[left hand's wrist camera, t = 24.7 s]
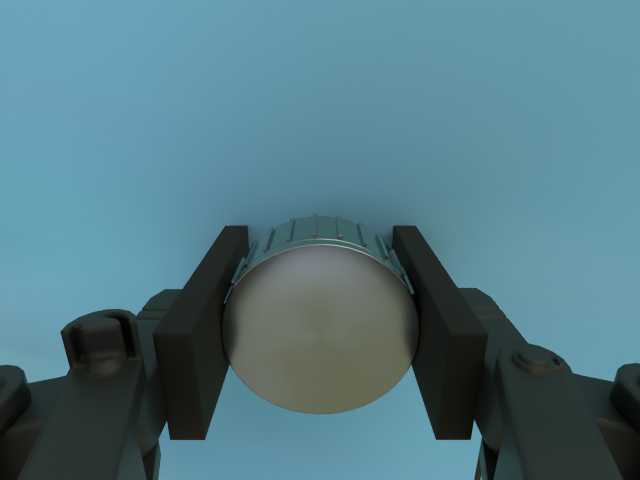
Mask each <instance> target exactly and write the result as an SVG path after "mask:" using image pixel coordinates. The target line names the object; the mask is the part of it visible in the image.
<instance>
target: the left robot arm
mask: <svg viewBox="0 0 640 480" xmlns="http://www.w3.org/2000/svg"><path fill="white" fill-rule="evenodd" d="M392 249H394V251H395V253H396V255H397V257H398V259H399V262H400V264H401V266H402V267H403V268H404V270H405V272H406V275H407V277H408V279H409V281H410V283H411V286H412V288H413V290H414V292H415V295H416V296H414V297H413V298H414V301H415V303H416V306H417V310H418V314H419V321H420V338H419V343H418V348H417V351H416V354H415V357H414V360H413V361H412V363H411V365H412V368H413V371H414V374H415V377H416V380H417V383H418V386H419V389H420V392H421V395H422V398H423V401H424V404H425V407H426V411H427V414H428V417H429V420H430V423H431V426H432V429H433V432H434V435H435V438H436V440H471V434H472V428H473V422H474V420H475V422H476V424H477V426H478V428H479V431H480V433H481V435H482V440H481V446H480V451H479V457H478V462H477V467H476V473H475V480H480V479H481V474H482V480H640V364H638V363H633V364H625V365H623V366H622V367H620V368H619V369H618V370H617V373H616V377H615V380H614V382H611V381H606V380H601V379H596V378H591V377H586V376H581V375H577V374H574V373H572V371H571V369H570V367H569V366H568V364H567V363H566V362H565V361H564V359H562V358H561V357H560V356H558V355H557V354H555V353H554V352H552V351H550V350H547V349H545V348H543V347H541V346H537V345H533V344H528V343H527V341H526V340H525V339H524V338H523V337H522V335H521V334H520V333H519V332H518V330H517V329H516V328H515V327H514V325H513V324H512V323H511V322H510V320H509V319H508V318H506V315H505V314H504V313H503V312H502V310H501V309H499V307H498V305H497V304H496V303H495V302H494V300H493V299H492V298H491V297H490V296H488V295H487V294H485V293H483V292H482V291H480V290H479V289H477V288H457V286H456V285H455V283H454V282H453V280H452V279H451V278H450V276H449V275H448V273H447V272H446V270H445V269H444V267H443V266H442V264H441V263H440V261H439V260H438V258H437V257H436V255H435V254H434V252H433V251H432V249H431V248H430V247H429V245H428V244H427V242H426V241H425V239H424V238H423V236H422V235H421V233H420V232H419V230H418V229H417V227H416V226H394V227H393V242H392ZM248 253H249V243H248V228H247V226H225V227H224V229H223V230H222V232H221V233H220V235H219V236H218V238H217V239H216V241H215V242H214V244H213V245H212V247H211V248H210V249H209V251H208V252H207V254H206V255H205V257H204V258H203V260H202V261H201V263H200V264H199V266H198V267H197V269H196V270H195V272H194V273H193V275H192V276H191V277H190V279H189V280H188V282H187V283H186V285H185V286H184V288H183V289H165V290H163V291H162V292H160V293H158V294H157V295H155V296H153V297H152V298H150V300H149V301H148V302H147V303H146V305H145V306H144V307H143V308H142V311H140V312H139V313H138V315H137V316H135V315H134V314H133V313H131V312H130V311H126V310H121V309H107V310H102V311H97V312H92V313H90V314H87V315H84V316H81V317H79V318H77V319H75V320H74V321H72V322H70V323H69V324H67V325H66V326H65V327H64V329H63V330H62V331H61V335H62V339H63V343H64V347H65V351H66V354H67V358H68V362H69V366H70V369H69V371H68V373H67V375H66V376H63V377H58V378H53V379H48V380H43V381H38V382H33V383H27V379H26V376H25V373H24V371H23V370H22V369H21V368H19V367H18V366H11V365H1V366H0V480H158V475H159V467H160V458H161V452H160V446H159V440H158V439H159V437H160V435H161V432H162V430H163V428H164V426H165V424H166V421H167V423H168V429H169V435H170V440H205V438H206V435H207V431H208V428H209V425H210V422H211V419H212V416H213V413H214V410H215V407H216V404H217V401H218V398H219V395H220V392H221V389H222V386H223V383H224V380H225V377H226V374H227V370H228V367H229V364H230V363H229V361H228V359H227V357H226V354H225V351H224V347H223V344H222V337H221V320H222V313H223V309H224V306H223V303H224V300H225V298H226V296H227V294H228V291H229V289H230V287H231V285H230V283H231V281H232V279H233V277H234V274H235V272H236V270H237V268H238V266H239V264H240V262H241V259H242V258H243V257H244V258H246V256H247V255H248Z"/></svg>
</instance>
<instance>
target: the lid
mask: <svg viewBox="0 0 640 480" xmlns="http://www.w3.org/2000/svg"><path fill="white" fill-rule="evenodd" d="M230 285H231V287H230V289H229V291H228V294H227V296H226V298H225V300H224V303H223V306H224V309H223V313H222V320H221V337H222V344H223V347H224V351H225V354H226V357H227V359H228V361H229V363H230V365H231V367H232V368H233V370H234V371H235V373H236V374H237V376H238V377H239V378H240V379H241V380H242V382H243V383H244V384H245V385H246V386H247V387H249V388H250V389H251V390H252V391H253V392H254V393H256V394H257V395H259V396H260V397H262V398H263V399H265V400H267V401H269V402H271V403H272V404H275V405H277V406H280V407H282V408H285V409H289V410H292V411H296V412H302V413H308V414H333V413H340V412H345V411H349V410H353V409H356V408H359V407H362V406H365V405H367V404H369V403H371V402H373V401H375V400H377V399H378V398H380V397H381V396H383V395H384V394H386V393H387V392H388V391H389V390H391V389H392V388H393V387H394V386H395V385H396V384H397V383H398V382H399V381H400V380H401V379H402V377H403V376H404V375H405V373H406V372H407V370H408V369H409V367H410V365H411V363H412V361H413V360H414V357H415V354H416V351H417V348H418V343H419V338H420V321H419V314H418V310H417V306H416V303H415V301H414V298H413V297H414V296H416V295H415V292H414V290H413V288H412V286H411V283H410V281H409V279H408V277H407V275H406V272H405V270H404V268H403V267H402V266H401V264H400V262H399V259H398V257H397V255H396V253H395V251H394V249H392V250H390V249H389V247H388V246H387V245H386V244H385V243H384V242H383V240H382V238H381V235H379V234H377V235H375V234H374V233H372V232H371V231H370V230H368V229H367V228H365V227H363V225H362V223H360V222H358V224H357V223H354V222H351V221H348V220H345V219H340V216H336V218H335V217H325V216H318V217H317V214H313V217H307V218H301V219H297V220H294V218H292V219H290V222H287V223H285V224H283V225H281V226H278V227H276V228H275V229H274V228H273V227H272V228H270V230H269V232H268V233H267V234H266V235H265V236H263V237H262V238H261V239H260V240H259V241H258V242H257V241H256V240H255V241H254V242H253V244H252V247H251V249H250V251H249V253H248V255H247V256H246V258H244V257H243V258H242V259H241V262H240V264H239V266H238V268H237V270H236V272H235V274H234V277H233V279H232V281H231V283H230Z"/></svg>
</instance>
